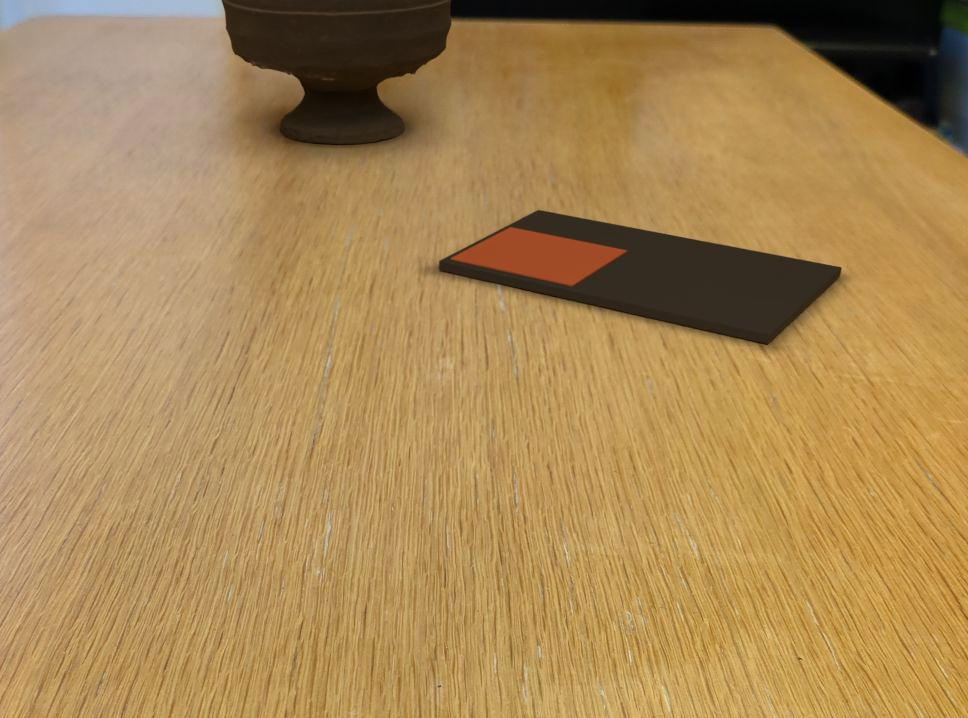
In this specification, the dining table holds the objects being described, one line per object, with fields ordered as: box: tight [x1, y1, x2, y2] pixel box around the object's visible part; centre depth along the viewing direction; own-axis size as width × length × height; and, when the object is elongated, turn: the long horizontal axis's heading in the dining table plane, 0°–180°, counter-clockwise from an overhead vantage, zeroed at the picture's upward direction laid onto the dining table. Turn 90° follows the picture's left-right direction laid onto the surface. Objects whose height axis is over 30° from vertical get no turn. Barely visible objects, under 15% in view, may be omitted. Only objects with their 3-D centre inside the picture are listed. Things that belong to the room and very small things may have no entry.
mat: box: [438, 209, 843, 345], centre depth 70 cm, size 20×12×1 cm, turn 57°
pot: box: [221, 0, 453, 145], centre depth 94 cm, size 18×18×20 cm
